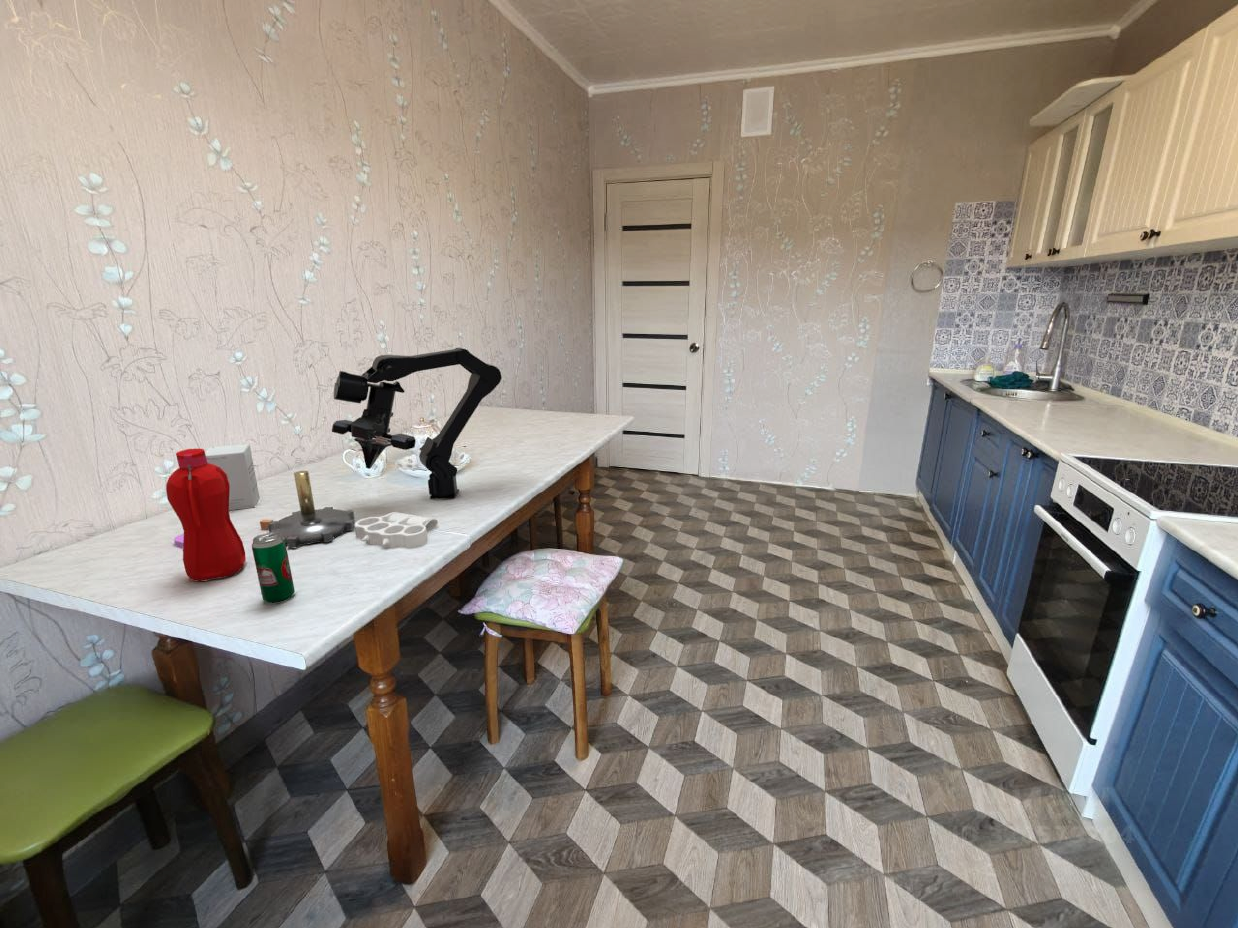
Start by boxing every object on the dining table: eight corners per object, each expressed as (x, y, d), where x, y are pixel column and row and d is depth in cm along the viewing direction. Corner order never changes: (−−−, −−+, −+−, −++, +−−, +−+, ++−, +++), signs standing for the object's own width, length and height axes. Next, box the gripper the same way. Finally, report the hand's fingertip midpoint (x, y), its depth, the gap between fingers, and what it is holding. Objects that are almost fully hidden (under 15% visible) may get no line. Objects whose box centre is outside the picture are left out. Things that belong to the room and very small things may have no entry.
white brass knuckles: (449, 530, 132) (406, 556, 119) (388, 519, 139) (340, 543, 126) (448, 516, 131) (404, 542, 118) (386, 506, 138) (338, 529, 125)
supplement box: (213, 513, 142) (200, 455, 137) (220, 501, 149) (208, 446, 145) (255, 507, 145) (244, 451, 141) (260, 496, 153) (249, 442, 148)
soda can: (256, 601, 102) (243, 540, 98) (281, 588, 106) (269, 529, 103) (277, 607, 100) (264, 544, 96) (301, 593, 104) (290, 533, 101)
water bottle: (181, 591, 105) (147, 462, 98) (196, 565, 115) (166, 446, 107) (239, 581, 109) (211, 456, 101) (249, 557, 118) (224, 441, 111)
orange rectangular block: (274, 527, 133) (272, 520, 132) (270, 529, 132) (269, 522, 131) (265, 527, 133) (263, 519, 132) (261, 529, 132) (259, 521, 131)
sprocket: (368, 513, 140) (362, 467, 137) (336, 546, 122) (327, 494, 119) (291, 515, 139) (282, 468, 136) (247, 548, 122) (236, 496, 118)
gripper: (324, 398, 131) (313, 463, 133) (403, 417, 131) (391, 482, 133) (349, 397, 142) (338, 457, 144) (421, 415, 142) (409, 475, 144)
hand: (368, 468), depth 141 cm, fingers closed
